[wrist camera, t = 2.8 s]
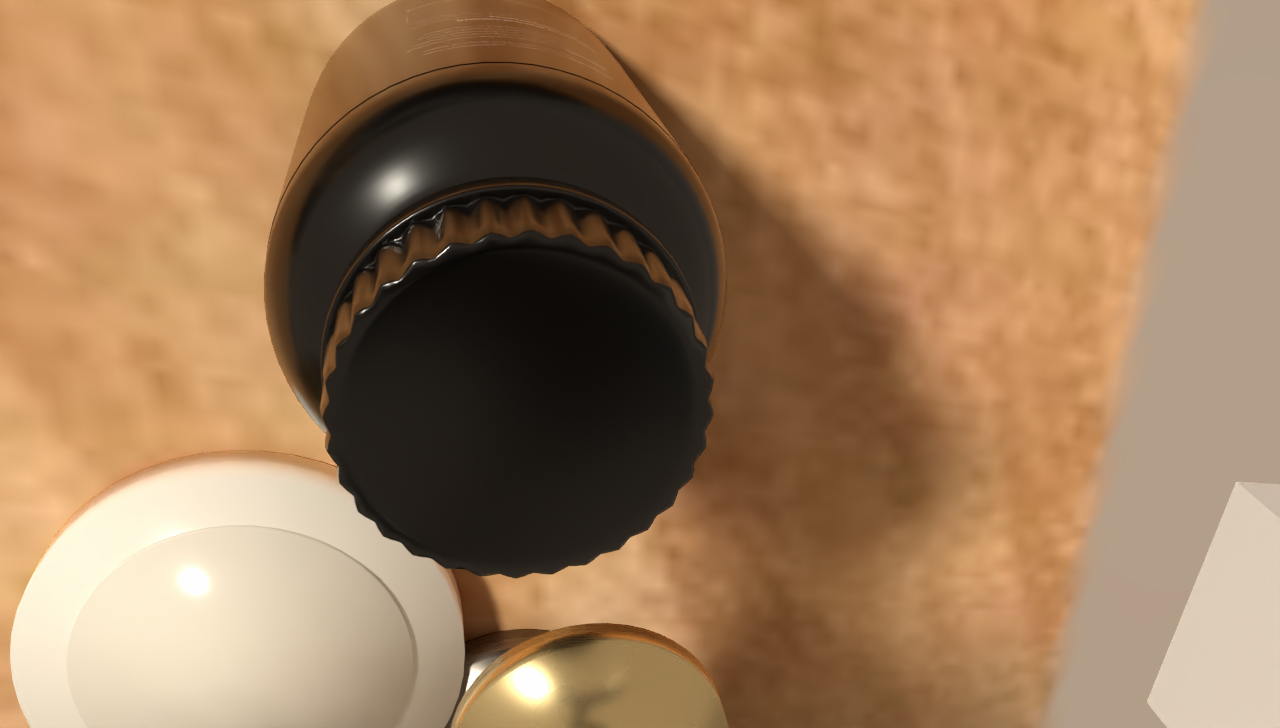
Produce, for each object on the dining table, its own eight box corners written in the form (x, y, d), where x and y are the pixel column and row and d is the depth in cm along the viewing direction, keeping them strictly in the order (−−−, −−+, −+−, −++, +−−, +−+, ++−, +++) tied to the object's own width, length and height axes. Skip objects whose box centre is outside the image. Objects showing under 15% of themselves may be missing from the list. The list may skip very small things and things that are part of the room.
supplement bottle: (237, 176, 25) (97, 466, 14) (444, -98, 23) (467, -9, 13) (504, 362, 27) (559, 725, 17) (706, 126, 26) (909, 358, 15)
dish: (544, 646, 31) (549, 682, 30) (238, 857, 32) (231, 898, 31) (267, 366, 27) (260, 393, 25) (-74, 621, 28) (-96, 658, 27)
